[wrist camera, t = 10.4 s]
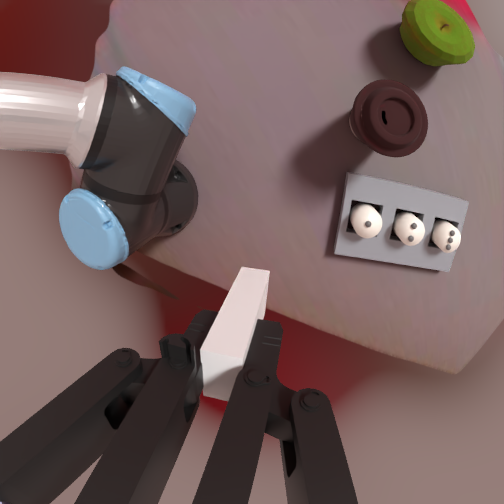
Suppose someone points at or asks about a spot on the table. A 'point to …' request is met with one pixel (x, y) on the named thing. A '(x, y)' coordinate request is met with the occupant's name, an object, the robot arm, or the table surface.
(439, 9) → the apple
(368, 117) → the coffee cup
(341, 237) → the console
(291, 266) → the table surface
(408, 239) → the button
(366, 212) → the button
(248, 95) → the table surface
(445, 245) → the button
